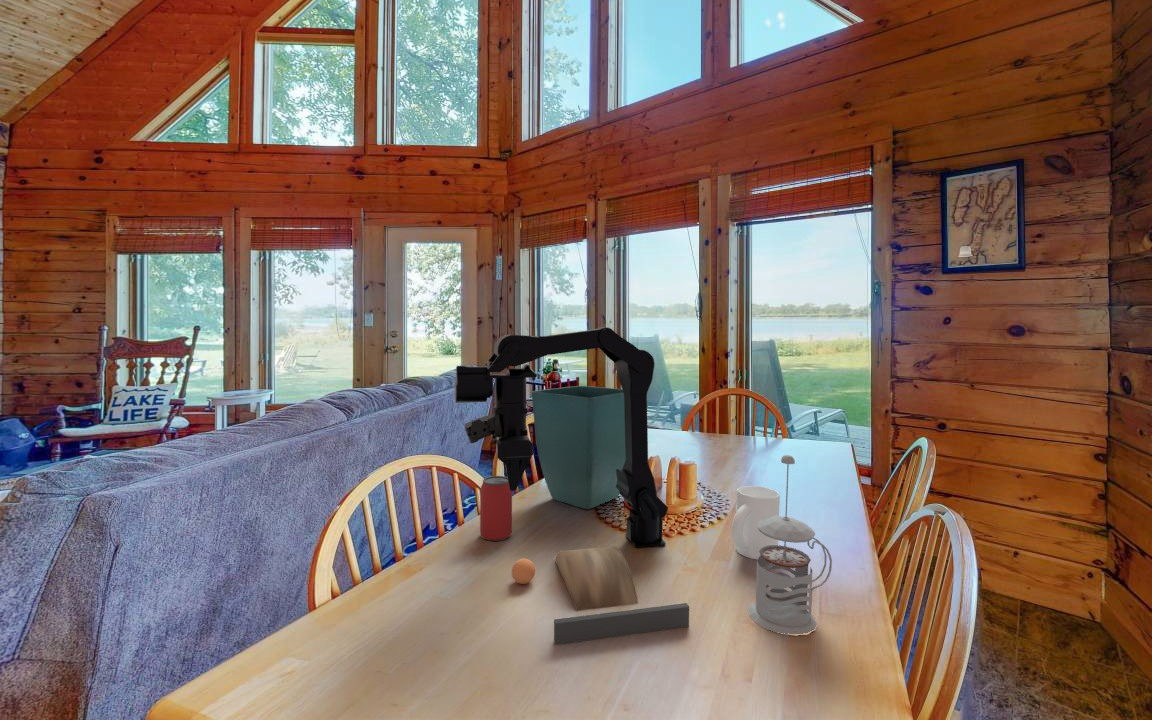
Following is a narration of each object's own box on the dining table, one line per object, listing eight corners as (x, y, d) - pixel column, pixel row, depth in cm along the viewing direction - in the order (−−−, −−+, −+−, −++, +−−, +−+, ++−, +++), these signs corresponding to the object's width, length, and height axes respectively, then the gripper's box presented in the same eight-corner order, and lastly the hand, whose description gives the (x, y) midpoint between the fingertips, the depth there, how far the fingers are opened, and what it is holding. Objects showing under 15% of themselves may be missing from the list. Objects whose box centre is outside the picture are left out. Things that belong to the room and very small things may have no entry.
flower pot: (528, 499, 129) (529, 390, 127) (579, 482, 144) (580, 384, 142) (588, 519, 115) (590, 397, 114) (637, 498, 130) (639, 390, 129)
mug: (714, 554, 98) (715, 494, 97) (748, 539, 105) (749, 483, 105) (752, 570, 91) (754, 505, 91) (785, 552, 99) (787, 493, 98)
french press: (740, 599, 81) (744, 447, 80) (812, 601, 81) (818, 448, 80) (760, 635, 72) (766, 462, 70) (842, 638, 71) (850, 464, 70)
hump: (601, 635, 100) (602, 527, 99) (640, 718, 79) (643, 581, 77) (552, 642, 98) (553, 532, 96) (579, 729, 76) (581, 588, 75)
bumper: (685, 622, 74) (686, 603, 74) (688, 626, 73) (689, 606, 73) (553, 640, 70) (554, 619, 70) (555, 644, 69) (555, 623, 69)
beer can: (505, 543, 102) (505, 485, 101) (475, 540, 103) (475, 483, 102) (515, 531, 108) (516, 476, 107) (487, 528, 109) (487, 474, 109)
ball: (533, 575, 88) (533, 553, 88) (536, 587, 84) (536, 563, 84) (510, 578, 87) (510, 555, 87) (513, 589, 83) (513, 566, 83)
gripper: (466, 396, 101) (466, 471, 102) (467, 410, 83) (467, 502, 84) (521, 395, 104) (521, 469, 105) (534, 408, 86) (533, 497, 87)
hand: (510, 483), depth 95 cm, fingers open, 9 cm apart
